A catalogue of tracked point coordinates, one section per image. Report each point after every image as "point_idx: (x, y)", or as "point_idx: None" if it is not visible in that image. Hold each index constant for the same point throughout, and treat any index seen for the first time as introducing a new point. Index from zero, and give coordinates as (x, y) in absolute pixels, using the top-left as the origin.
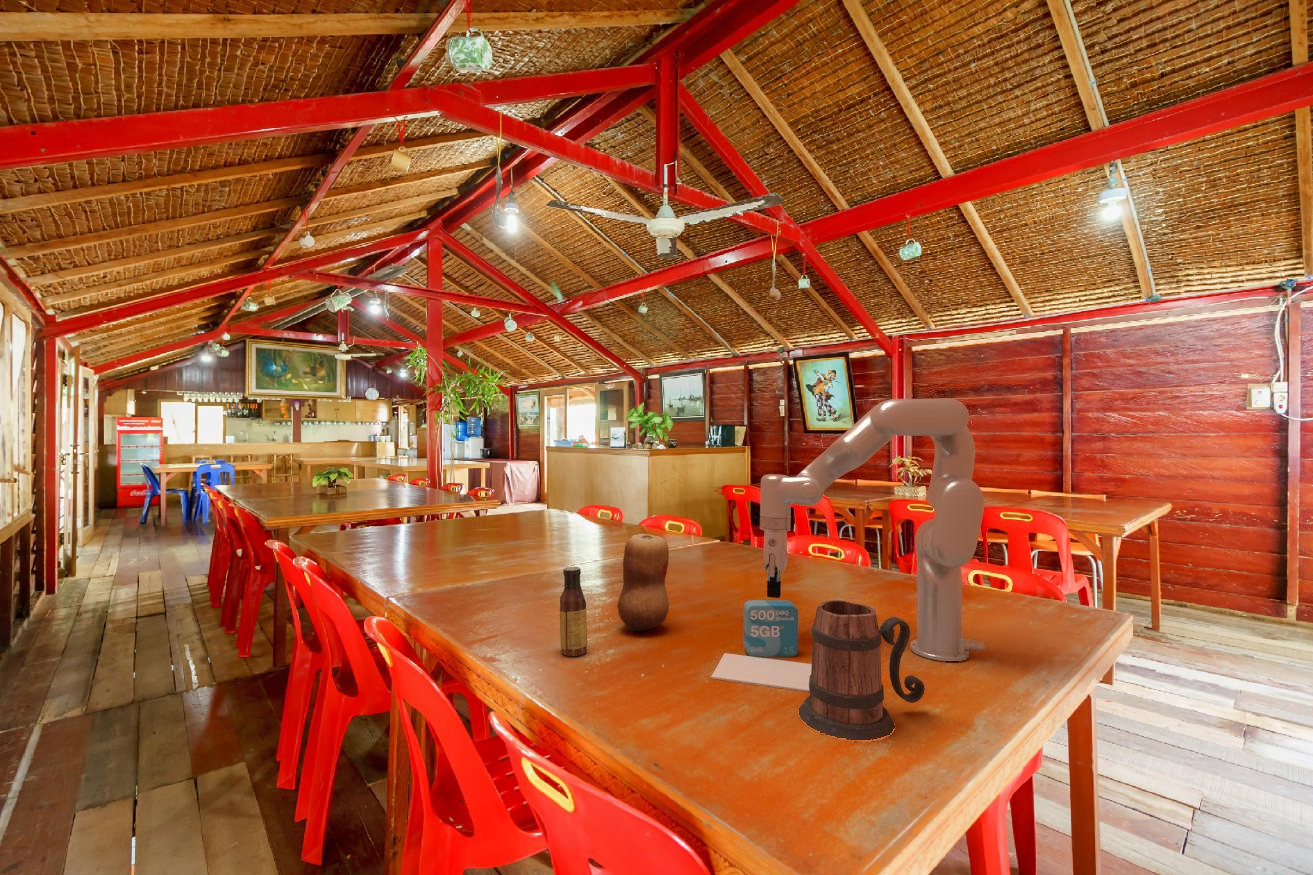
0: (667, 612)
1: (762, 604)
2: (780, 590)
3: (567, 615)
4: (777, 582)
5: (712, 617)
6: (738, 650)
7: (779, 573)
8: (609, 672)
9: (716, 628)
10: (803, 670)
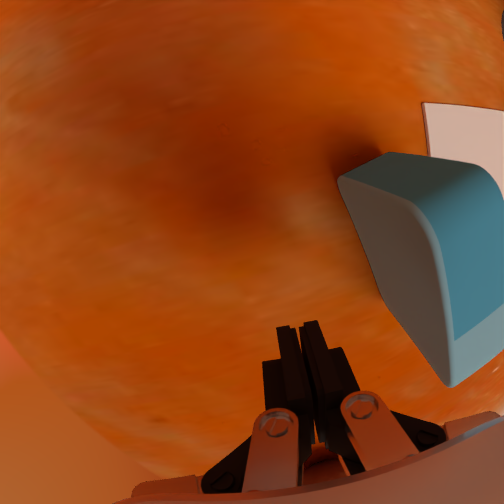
0: (327, 476)
1: (501, 323)
2: (294, 347)
3: None
4: (341, 400)
5: (179, 425)
6: (389, 310)
7: (296, 458)
8: (486, 397)
9: (251, 403)
10: (463, 126)
